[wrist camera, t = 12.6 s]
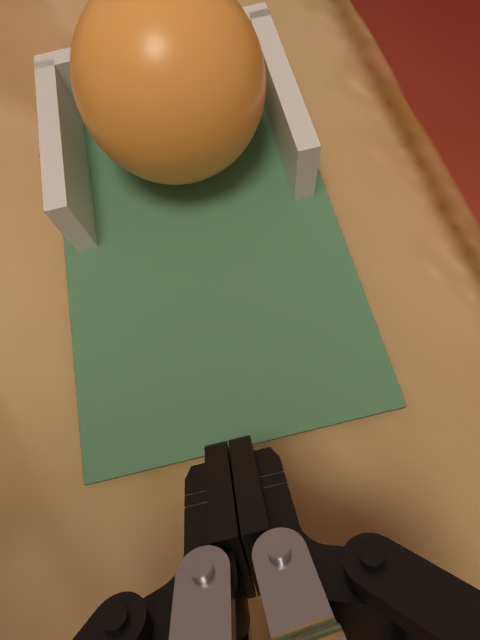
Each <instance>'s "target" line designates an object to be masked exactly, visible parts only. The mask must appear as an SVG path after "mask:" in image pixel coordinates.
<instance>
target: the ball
mask: <svg viewBox="0 0 480 640" xmlns="http://www.w3.org/2000/svg"><path fill="white" fill-rule="evenodd" d="M70 78H71V86H72V91H73V95H74V98H75V102H76V105H77V108H78V111H79V113H80V116H81V118H82V121H83V123H84V124H85V126H86V128H87V130H88V131H89V133H90V135H91V136H92V137H93V139H94V140H95V142H96V143H97V144H98V146H99V147H100V148H101V149H102V150H103V151H104V152H105V153H106V155H107V156H108V157H110V158H111V159H112V160H113V161H114V162H116V163H117V164H118V165H119V166H121V167H122V168H124V169H125V170H127V171H128V172H130V173H132V174H134V175H136V176H138V177H140V178H142V179H145V180H148V181H151V182H155V183H161V184H167V185H183V184H191V183H195V182H200V181H203V180H205V179H208V178H211V177H212V176H214V175H216V174H218V173H220V172H222V171H223V170H224V169H226V168H227V167H228V166H230V165H231V164H232V163H233V162H234V161H235V160H236V159H237V158H238V157H239V156H240V155H241V154H242V153H243V151H244V150H245V149H246V148H247V146H248V144H249V143H250V141H251V139H252V138H253V136H254V134H255V131H256V129H257V127H258V125H259V122H260V119H261V115H262V112H263V107H264V101H265V94H266V72H265V63H264V58H263V53H262V49H261V45H260V42H259V39H258V36H257V34H256V32H255V30H254V28H253V26H252V23H251V21H250V20H249V18H248V16H247V14H246V13H245V11H244V10H243V8H242V7H241V5H240V4H239V3H238V2H237V0H89V1H88V2H87V4H86V5H85V7H84V9H83V11H82V13H81V15H80V17H79V20H78V23H77V25H76V28H75V30H74V34H73V39H72V43H71V51H70Z"/></svg>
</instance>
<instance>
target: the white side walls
mask: <svg viewBox="0 0 480 640" xmlns="http://www.w3.org/2000/svg"><path fill="white" fill-rule="evenodd" d="M242 8H243V10H244V11H245V13H246V14H247V16H248V18H249V20H250V21H251V23H252V26H253V28H254V30H255V32H256V34H257V36H258V39H259V42H260V45H261V49H262V53H263V58H264V63H265V72H266V94H265V101H264V107H263V108H264V111H265V114H266V117H267V120H268V123H269V126H270V129H271V132H272V135H273V138H274V141H275V144H276V147H277V150H278V153H279V156H280V159H281V162H282V165H283V168H284V171H285V174H286V177H287V180H288V183H289V186H290V189H291V192H292V194H293V197H294V200H299V199H303V198H307V197H311V196H314V193H315V185H316V178H317V171H318V164H319V157H320V150H321V145H320V142H319V140H318V137H317V134H316V132H315V129H314V127H313V124H312V121H311V119H310V116H309V114H308V111H307V108H306V106H305V103H304V101H303V98H302V96H301V93H300V90H299V88H298V85H297V83H296V80H295V77H294V75H293V72H292V70H291V67H290V65H289V62H288V59H287V57H286V54H285V52H284V49H283V46H282V44H281V41H280V39H279V36H278V34H277V31H276V28H275V26H274V23H273V21H272V18H271V15H270V13H269V10H268V8H267V5H266V2H263V3H259V4H255V5H250V6H246V7H242ZM70 51H71V47H70V48H65V49H61V50H57V51H53V52H48V53H44V54H40V55H35V56H34V69H35V84H36V100H37V115H38V131H39V146H40V162H41V177H42V193H43V208H44V213H45V214H46V215H47V216H48V217H49V218H50V220H51V221H52V222H53V223H54V224H55V225H56V227H57V228H58V229H59V230H60V231H61V232H62V234H63V235H64V236H65V237H66V238H67V239H68V241H69V242H70V243H71V244H72V245H73V246H74V248H75V249H76V250H77V251H78V252H80V251H84V250H88V249H93V248H97V247H98V243H97V235H96V226H95V218H94V209H93V201H92V192H91V184H90V176H89V167H88V159H87V150H86V142H85V133H84V125H83V121H82V118H81V116H80V113H79V111H78V108H77V105H76V102H75V98H74V95H73V91H72V86H71V78H70Z"/></svg>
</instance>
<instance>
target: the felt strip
mask: <svg viewBox="0 0 480 640" xmlns="http://www.w3.org/2000/svg"><path fill="white" fill-rule="evenodd" d="M83 125H84V133H85V142H86V150H87V159H88V167H89V176H90V184H91V192H92V201H93V209H94V218H95V226H96V235H97V243H98V247H97V248H93V249H88V250H84V251H80V252H78V251H77V250H76V249H75V248H74V246H73V245H72V244H71V243H70V242H69V241H68V239H67V238H66V237H65V236H64V235H63V237H64V249H65V261H66V273H67V285H68V297H69V309H70V321H71V333H72V345H73V357H74V369H75V381H76V393H77V405H78V417H79V429H80V441H81V453H82V465H83V477H84V485H89V484H93V483H98V482H102V481H106V480H110V479H114V478H118V477H122V476H126V475H130V474H134V473H139V472H143V471H147V470H151V469H155V468H159V467H163V466H167V465H171V464H175V463H179V462H184V461H188V460H192V459H196V458H200V457H204V456H205V451H204V447H205V446H206V445H211V444H215V443H219V442H223V441H227V443H228V440H231V439H235V438H239V437H243V436H247V435H250V436H251V440H252V444H257V443H261V442H265V441H270V440H274V439H278V438H282V437H286V436H290V435H294V434H298V433H302V432H306V431H311V430H315V429H319V428H323V427H327V426H331V425H335V424H339V423H343V422H347V421H352V420H356V419H360V418H364V417H368V416H372V415H376V414H380V413H384V412H388V411H392V410H397V409H401V408H405V407H406V406H407V405H406V403H405V400H404V397H403V395H402V392H401V389H400V387H399V384H398V381H397V379H396V376H395V373H394V370H393V368H392V365H391V362H390V360H389V357H388V354H387V352H386V349H385V346H384V344H383V341H382V338H381V336H380V333H379V330H378V328H377V325H376V322H375V320H374V317H373V314H372V312H371V309H370V306H369V304H368V301H367V298H366V296H365V293H364V290H363V288H362V285H361V282H360V279H359V277H358V274H357V271H356V269H355V266H354V263H353V261H352V258H351V255H350V253H349V250H348V247H347V245H346V242H345V239H344V237H343V234H342V231H341V229H340V226H339V223H338V221H337V218H336V215H335V213H334V210H333V207H332V205H331V202H330V199H329V197H328V194H327V191H326V189H325V186H324V183H323V180H322V178H321V175H320V172H319V170H318V171H317V178H316V185H315V193H314V196H311V197H307V198H303V199H299V200H294V197H293V194H292V192H291V189H290V186H289V183H288V180H287V177H286V174H285V171H284V168H283V165H282V162H281V159H280V156H279V153H278V150H277V147H276V144H275V141H274V138H273V135H272V132H271V129H270V126H269V123H268V120H267V117H266V114H265V111H264V108H263V112H262V115H261V119H260V122H259V125H258V127H257V129H256V131H255V134H254V136H253V138H252V139H251V141H250V143H249V144H248V146H247V148H246V149H245V150H244V151H243V153H242V154H241V155H240V156H239V157H238V158H237V159H236V160H235V161H234V162H233V163H232V164H231V165H230V166H228V167H227V168H226V169H224V170H223V171H222V172H220V173H218V174H216V175H214V176H212V177H211V178H208V179H205V180H203V181H200V182H195V183H191V184H183V185H167V184H161V183H155V182H151V181H148V180H145V179H142V178H140V177H138V176H136V175H134V174H132V173H130V172H128V171H127V170H125V169H124V168H122V167H121V166H119V165H118V164H117V163H116V162H114V161H113V160H112V159H111V158H110V157H108V156H107V155H106V153H105V152H104V151H103V150H102V149H101V148H100V147H99V146H98V144H97V143H96V142H95V140H94V139H93V137H92V136H91V135H90V133H89V131H88V130H87V128H86V126H85V124H84V123H83ZM228 446H229V443H228Z"/></svg>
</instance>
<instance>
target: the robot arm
mask: <svg viewBox="0 0 480 640" xmlns="http://www.w3.org/2000/svg"><path fill="white" fill-rule="evenodd" d="M228 443H229V446H228ZM228 443H227V441H223V442H219V443H215V444H211V445H206V446H205V447H204V451H205V463H203V464H199V465H195V466H191V468H190V470H189V473H188V475H187V477H186V479H185V518H184V558H183V559H182V560H181V562H180V563H179V565H178V567H177V570H176V574H175V576H174V577H173V578H172V579H171V580H170V581H169V582H168V583H167V584H166V585H164V586H163V587H161V588H160V589H158V590H156V591H155V592H153V593H151V594H150V595H148V596H146V597H145V598H143V599H142V597H141V596H139V595H138V594H136V593H134V592H121V593H118V594H115V595H113V596H111V597H110V598H108V599H107V600H105V601H104V602H103V603H102V604H101V605H100V606H99V607H98V608H97V610H96V611H95V612H94V613H93V615H92V616H91V617H90V618H89V620H88V621H87V622H86V623H85V625H84V626H83V627H82V628H81V630H80V631H79V632H78V633H77V635H76V636H75V637H74V638H73V640H252V633H251V627H250V615H249V608H248V600H247V599H248V598H252V597H256V593H255V586H256V589H257V592H258V596H260V595H261V599H262V603H263V607H264V611H265V615H266V619H267V624H268V628H269V632H270V636H271V640H480V590H478V589H477V588H475V587H473V586H471V585H469V584H468V583H466V582H464V581H462V580H461V579H459V578H457V577H455V576H454V575H452V574H450V573H448V572H447V571H445V570H443V569H441V568H440V567H438V566H436V565H434V564H432V563H431V562H429V561H427V560H425V559H424V558H422V557H420V556H418V555H417V554H415V553H413V552H411V551H410V550H408V549H406V548H404V547H402V546H401V545H399V544H397V543H395V542H394V541H392V540H390V539H388V538H387V537H384V536H382V535H379V534H375V533H363V534H359V535H356V536H354V537H353V538H351V539H350V540H349V541H348V542H347V543H346V545H345V546H344V547H343V546H329V545H323V544H320V543H317V542H315V541H313V540H312V539H310V538H309V537H308V536H306V535H305V533H304V532H303V531H302V529H301V528H300V525H299V522H298V519H297V515H296V512H295V508H294V505H293V502H292V498H291V495H290V491H289V488H288V484H287V481H286V477H285V474H284V471H283V467H282V464H281V460H280V457H279V456H278V455H277V454H276V453H275V452H274V451H273V450H272V449H271V448H270V447H269V448H265V449H260V450H256V451H254V449H253V444H252V440H251V436H250V435H247V436H243V437H239V438H235V439H231V440H228ZM253 579H254V580H253ZM254 582H255V586H254Z"/></svg>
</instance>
